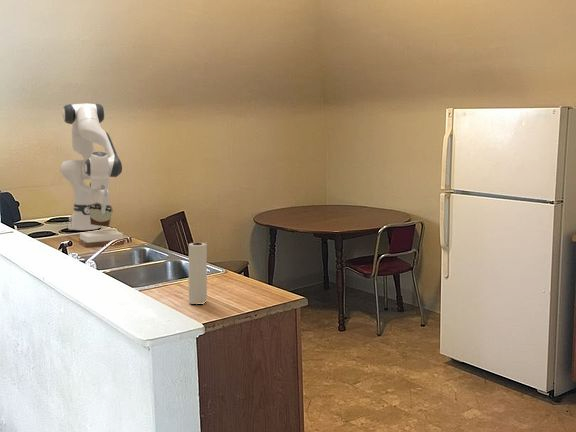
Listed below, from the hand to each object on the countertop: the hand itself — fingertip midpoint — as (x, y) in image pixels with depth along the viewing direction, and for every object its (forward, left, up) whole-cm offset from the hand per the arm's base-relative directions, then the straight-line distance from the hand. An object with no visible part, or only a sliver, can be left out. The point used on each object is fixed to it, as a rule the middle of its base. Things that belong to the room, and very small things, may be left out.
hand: (100, 212), depth 335 cm
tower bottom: (0, 0, -17) cm, 17 cm away
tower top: (0, 0, -14) cm, 14 cm away
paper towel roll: (+121, +1, -16) cm, 122 cm away
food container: (-2, +1, -6) cm, 7 cm away
